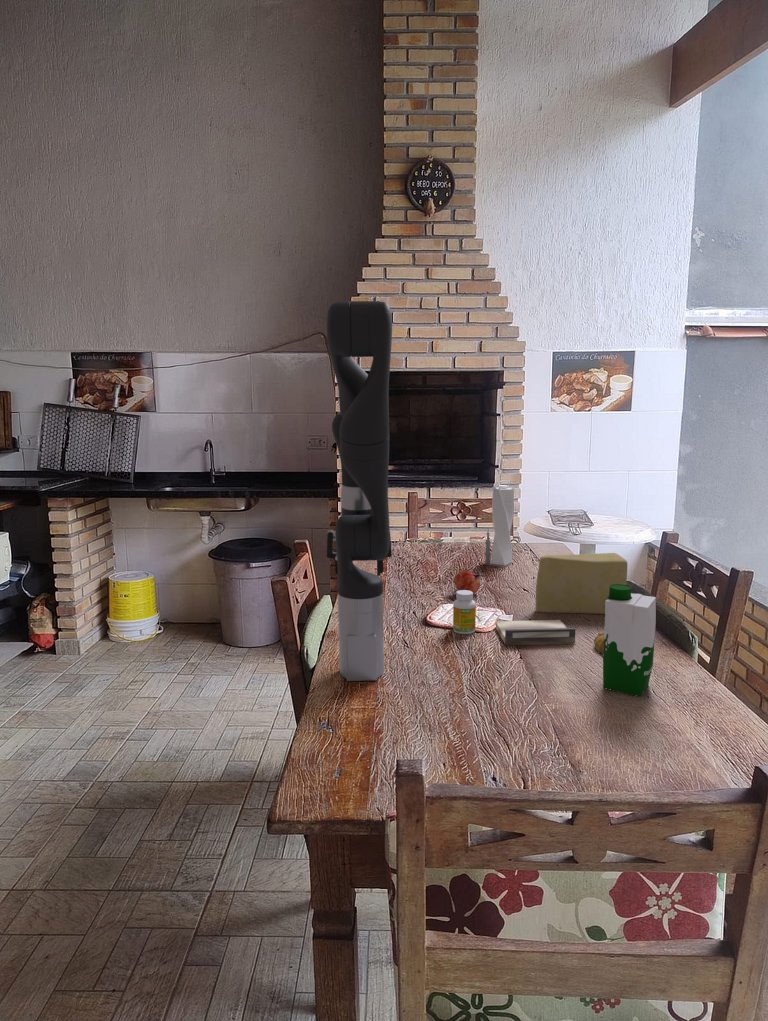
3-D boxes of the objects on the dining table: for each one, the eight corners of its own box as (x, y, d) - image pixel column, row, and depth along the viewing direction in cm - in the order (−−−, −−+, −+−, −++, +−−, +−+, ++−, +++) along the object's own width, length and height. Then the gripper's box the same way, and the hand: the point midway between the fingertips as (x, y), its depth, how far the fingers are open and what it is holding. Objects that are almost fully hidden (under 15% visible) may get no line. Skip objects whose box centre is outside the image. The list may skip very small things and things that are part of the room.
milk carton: (608, 673, 142) (613, 579, 139) (655, 683, 137) (661, 586, 134) (597, 689, 135) (601, 590, 131) (645, 700, 130) (652, 598, 127)
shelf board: (575, 644, 158) (575, 629, 158) (506, 645, 158) (506, 631, 157) (559, 625, 170) (560, 612, 170) (495, 627, 170) (495, 613, 169)
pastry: (638, 660, 149) (639, 643, 148) (608, 662, 148) (609, 646, 148) (618, 644, 158) (618, 629, 158) (590, 646, 158) (590, 630, 157)
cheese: (540, 617, 177) (541, 560, 174) (531, 605, 186) (533, 551, 184) (626, 616, 177) (629, 559, 174) (613, 604, 186) (616, 550, 184)
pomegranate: (452, 604, 195) (477, 588, 189) (440, 581, 197) (465, 565, 191) (466, 601, 200) (491, 585, 195) (455, 578, 202) (479, 562, 197)
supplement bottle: (460, 636, 164) (460, 596, 162) (449, 629, 169) (449, 590, 167) (479, 632, 166) (480, 593, 164) (468, 625, 171) (468, 588, 169)
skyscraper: (495, 559, 236) (497, 478, 231) (517, 563, 231) (519, 480, 226) (483, 564, 229) (485, 481, 224) (506, 568, 225) (508, 483, 220)
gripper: (324, 509, 146) (326, 581, 150) (392, 508, 147) (392, 580, 151) (326, 501, 153) (328, 570, 157) (390, 499, 154) (390, 569, 158)
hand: (359, 575), depth 154 cm, fingers open, 8 cm apart
